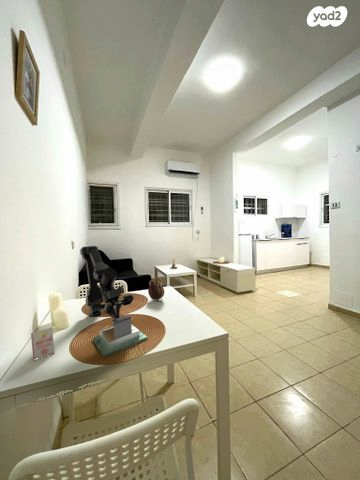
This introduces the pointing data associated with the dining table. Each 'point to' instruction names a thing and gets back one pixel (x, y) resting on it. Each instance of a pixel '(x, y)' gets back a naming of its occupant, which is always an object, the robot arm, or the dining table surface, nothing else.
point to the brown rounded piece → (156, 289)
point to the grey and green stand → (118, 336)
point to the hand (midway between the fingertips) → (118, 322)
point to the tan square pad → (111, 325)
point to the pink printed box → (42, 343)
